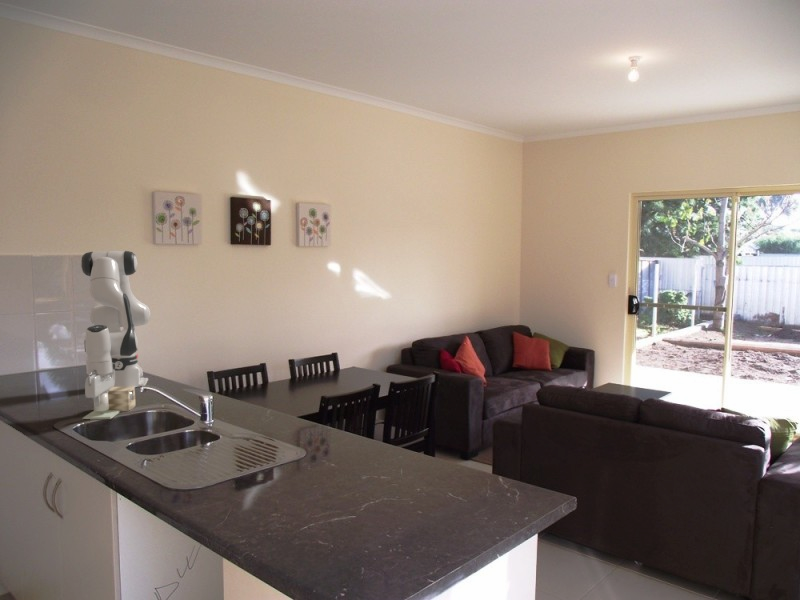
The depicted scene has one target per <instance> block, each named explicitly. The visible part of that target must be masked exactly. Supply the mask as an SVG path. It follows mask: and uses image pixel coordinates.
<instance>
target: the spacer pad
mask: <svg viewBox="0 0 800 600" xmlns="http://www.w3.org/2000/svg"><path fill="white" fill-rule="evenodd" d="M120 413H121V411H120V410H106V411H94V410H93V411H91V412H89V413H88V414H86V415H85V416H82V420H83V419H90V421H91V420H111V419H112V418H113V417H115V416H117V415H118V414H120Z"/></svg>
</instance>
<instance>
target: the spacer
mask: <svg viewBox="0 0 800 600" xmlns="http://www.w3.org/2000/svg"><path fill="white" fill-rule="evenodd" d="M99 398H100V401H101V405H100V406H99V407H96V406H95V402H94V401H93V411H105V410H108V409H109V404H108V393H102V394H100V397H99Z"/></svg>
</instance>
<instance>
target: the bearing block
mask: <svg viewBox="0 0 800 600" xmlns="http://www.w3.org/2000/svg"><path fill="white" fill-rule="evenodd" d="M135 388H136V387H135V386H124V387H112V388H110V389H109V390H108V404H109V409H108V410H120V412H130V411H131V410H133V409H134V408H135V407H136V389H135ZM130 392H132V393H133V399H132V400H130ZM129 410H130V411H129ZM105 411H106V410H105Z"/></svg>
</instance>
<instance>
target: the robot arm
mask: <svg viewBox="0 0 800 600" xmlns="http://www.w3.org/2000/svg"><path fill="white" fill-rule="evenodd" d="M138 264H139V263H138V259H137V257H136V254H135V253H134V252H133V251H129V250H125V251H123V250H103V251H88V252H85V253H84V254H83V255H82V256H81V260H80V268H81V270H82V273H83V274H84V275H85V276H87V277H90V278H89V292H90V296H91V298H92V299H93V300H94V301H96V302H97V303H99V304H98V305H94V306H93V308H92V309H91V310H90V313H89V319H90V322H91V323H92V324H93V325H91V326H89V327H87V328H86V329H85V330H86V331H85V339H84V342H83V343H84V352H85V353H86V359H85V364H86V365H85V366H86V374H87V375H88V376H87V377H86V378H85V383H84V396H85V398H86V399H92V400H93V403H94V402H95V406H96V407H99V406H100V405H101V401H100V398H99V397H100V394H102V393H108V390H109V389H110V388H112V387H124V386H135V388H138V387H145V386H146V385H147V383H148V381H149V377H144V371H143V368H142V367H141V366H140V365H139V363H138V362H139V361H138V360H139V355H138V354H136V352H137V351H138V348H139V339H138V336H137V333H136V330H135V327H139V326H144V325H146V324H148V323H149V321H150V320H151V316H152V313H151V309H150V308H149V306H148V305H147V304H145V303H144V302H142V301H140V300H139V299H137V297H136V296H135V295H134V293H133V291H132V287H131V283H130V276H132V275H134V274H135V273H136V272H137V269H138V266H139V265H138ZM121 328H122V330H121Z"/></svg>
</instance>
